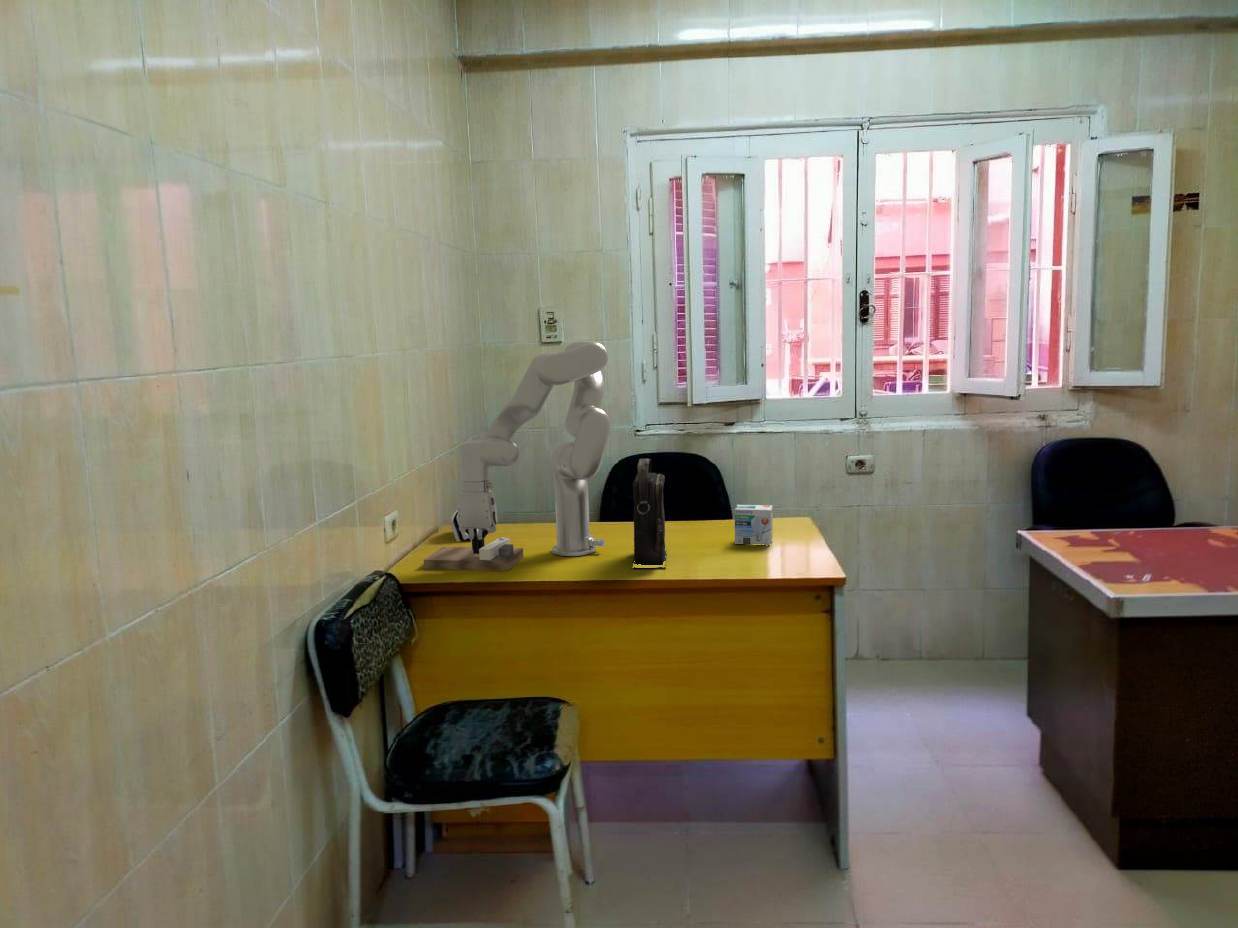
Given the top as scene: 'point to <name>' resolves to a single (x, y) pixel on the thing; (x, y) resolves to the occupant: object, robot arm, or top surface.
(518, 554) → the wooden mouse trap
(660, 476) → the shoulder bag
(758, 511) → the light bulb box
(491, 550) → the folding leg
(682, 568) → the top surface
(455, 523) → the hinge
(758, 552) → the top surface
